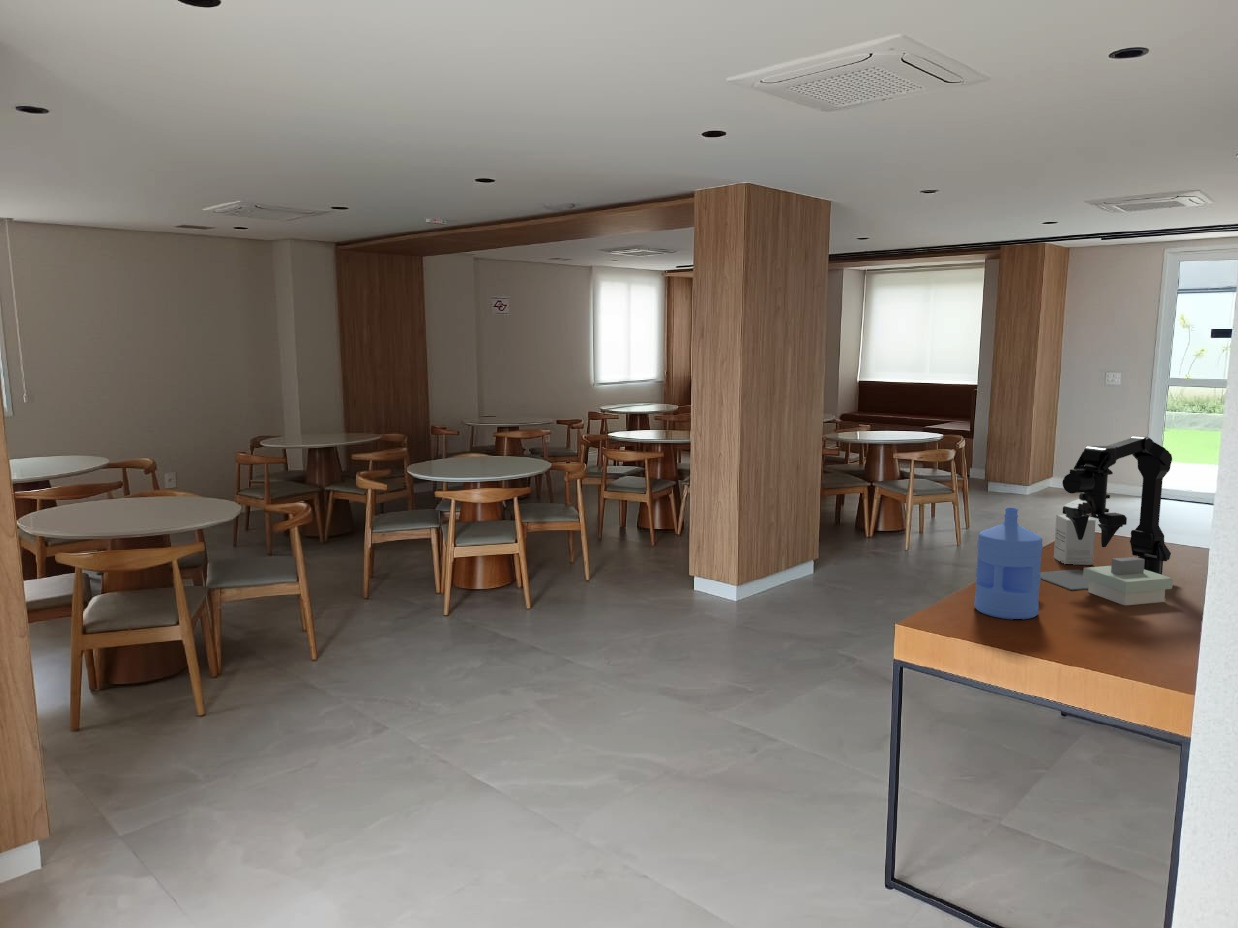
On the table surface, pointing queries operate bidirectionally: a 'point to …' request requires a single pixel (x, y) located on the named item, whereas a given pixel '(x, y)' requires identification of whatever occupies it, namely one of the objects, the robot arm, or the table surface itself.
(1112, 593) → the storage box
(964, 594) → the table surface
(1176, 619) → the table surface
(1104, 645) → the table surface
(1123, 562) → the lid
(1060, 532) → the supplement box
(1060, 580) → the mat
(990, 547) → the water jug
